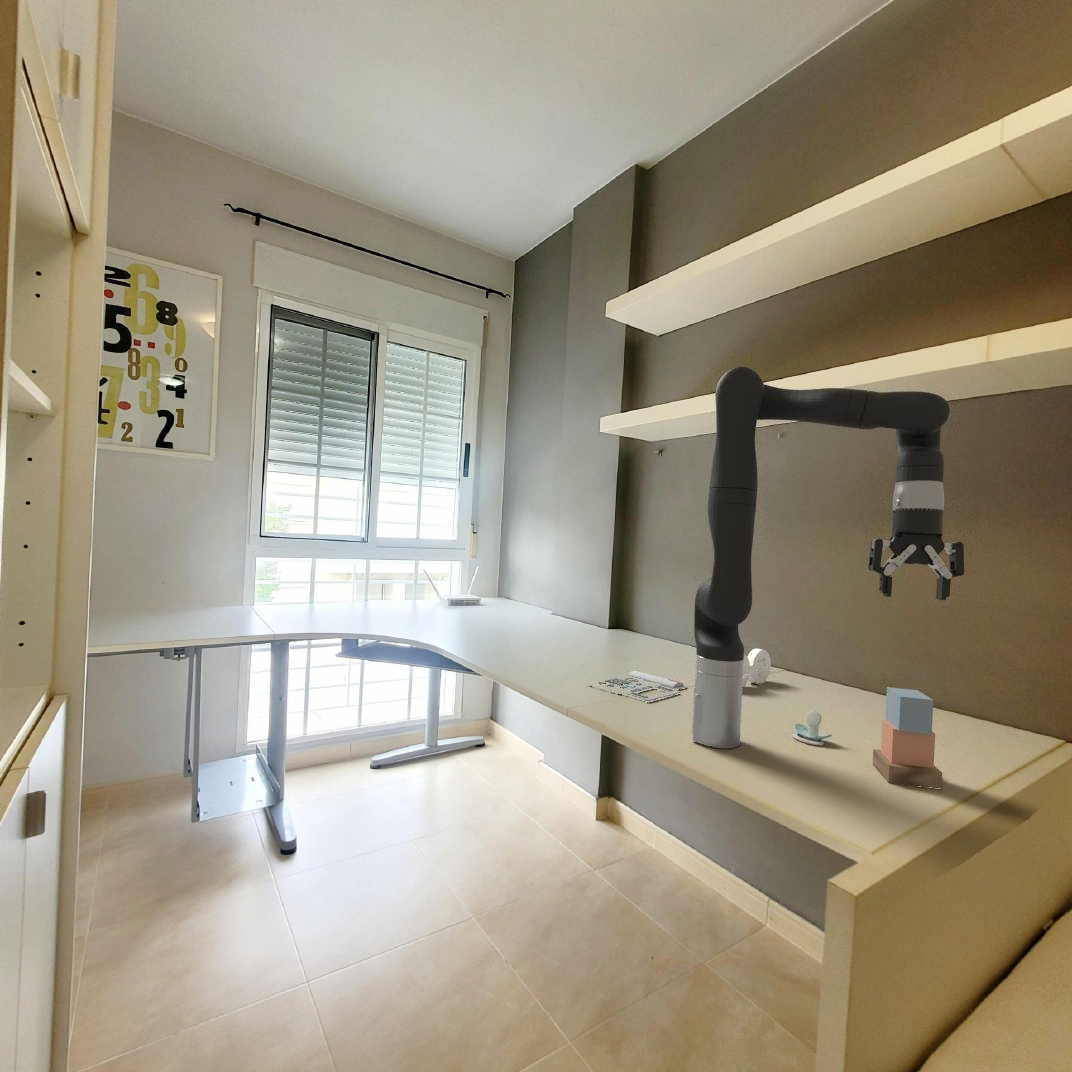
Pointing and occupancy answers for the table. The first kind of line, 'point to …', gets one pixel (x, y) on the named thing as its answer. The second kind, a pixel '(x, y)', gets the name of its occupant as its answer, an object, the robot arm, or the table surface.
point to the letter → (756, 666)
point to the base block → (906, 772)
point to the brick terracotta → (907, 746)
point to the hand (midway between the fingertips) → (913, 598)
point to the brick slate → (909, 710)
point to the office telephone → (641, 687)
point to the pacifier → (810, 730)
